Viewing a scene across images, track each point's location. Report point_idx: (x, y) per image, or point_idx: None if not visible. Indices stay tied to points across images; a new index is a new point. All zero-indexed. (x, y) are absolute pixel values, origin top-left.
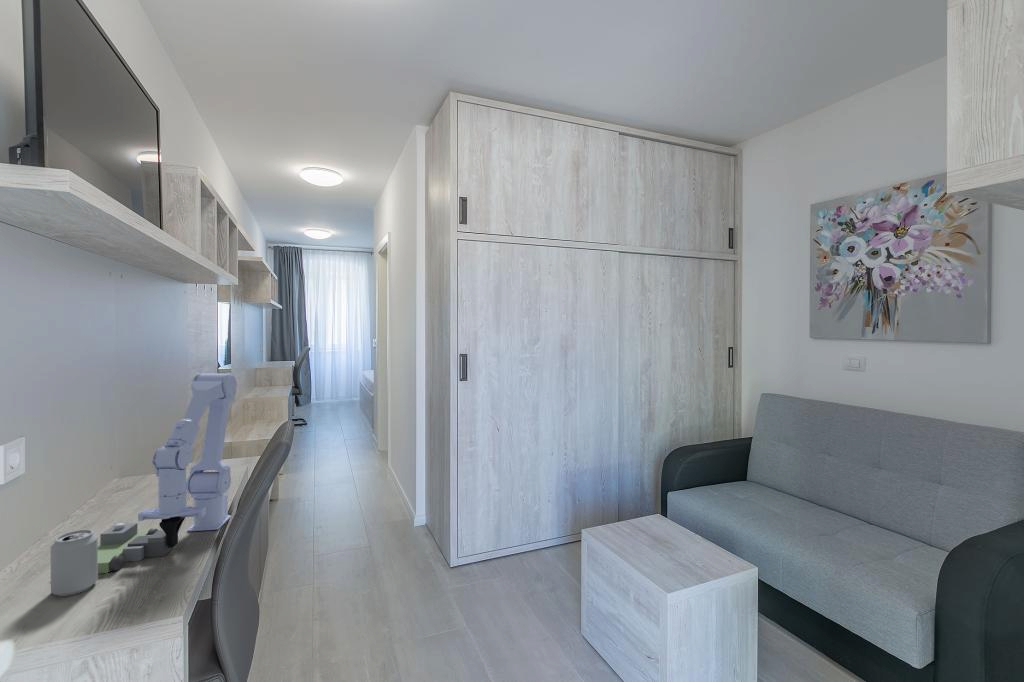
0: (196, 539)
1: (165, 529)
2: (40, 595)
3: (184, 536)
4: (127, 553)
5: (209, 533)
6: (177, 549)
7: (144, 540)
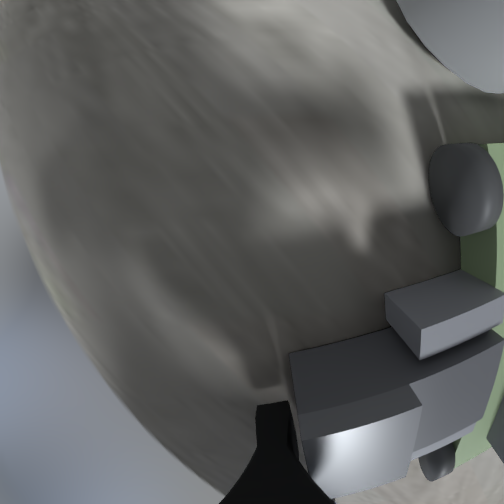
0: None
1: (296, 499)
2: None
3: None
4: (470, 290)
5: None
6: None
7: (441, 400)
